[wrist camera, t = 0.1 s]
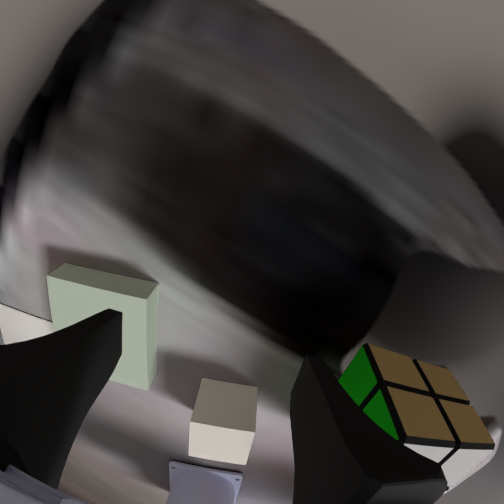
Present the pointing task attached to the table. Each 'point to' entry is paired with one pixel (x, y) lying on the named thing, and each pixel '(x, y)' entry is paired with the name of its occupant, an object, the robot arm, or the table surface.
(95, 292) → the base brick
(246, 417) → the cream brick
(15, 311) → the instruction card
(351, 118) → the table surface
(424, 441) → the puzzle cube
